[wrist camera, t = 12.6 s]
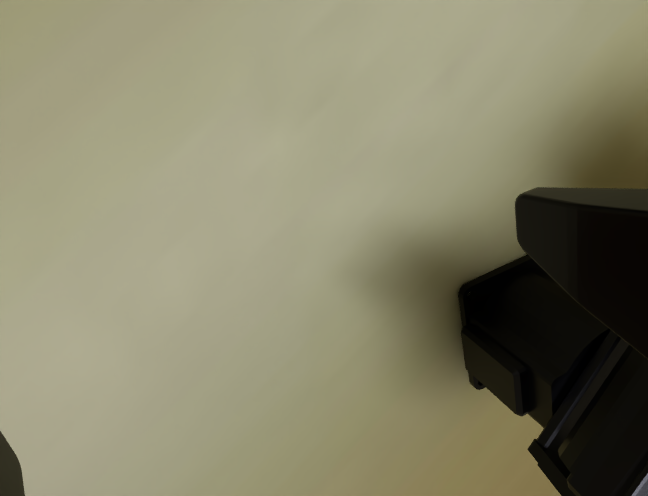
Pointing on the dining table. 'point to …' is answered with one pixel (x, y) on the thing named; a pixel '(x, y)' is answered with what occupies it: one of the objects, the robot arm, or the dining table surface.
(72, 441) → the dining table surface
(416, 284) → the dining table surface
